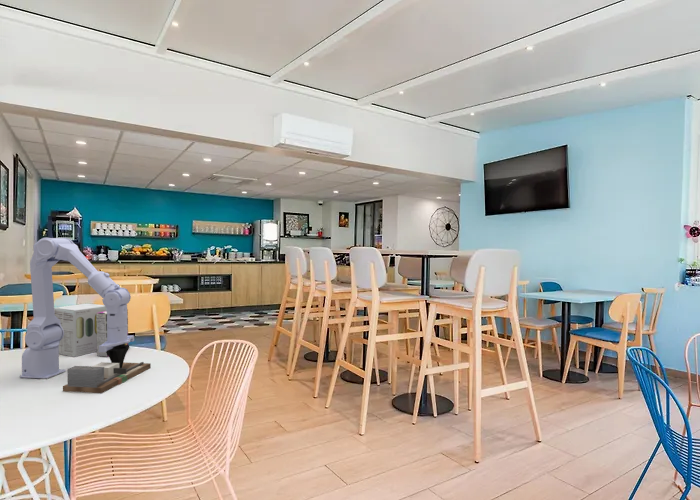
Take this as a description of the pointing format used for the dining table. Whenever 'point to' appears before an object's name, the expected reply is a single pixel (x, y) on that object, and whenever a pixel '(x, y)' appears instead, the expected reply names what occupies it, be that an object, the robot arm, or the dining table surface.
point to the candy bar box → (103, 331)
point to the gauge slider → (111, 369)
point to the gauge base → (113, 379)
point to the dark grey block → (85, 376)
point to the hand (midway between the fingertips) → (117, 368)
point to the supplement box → (78, 328)
